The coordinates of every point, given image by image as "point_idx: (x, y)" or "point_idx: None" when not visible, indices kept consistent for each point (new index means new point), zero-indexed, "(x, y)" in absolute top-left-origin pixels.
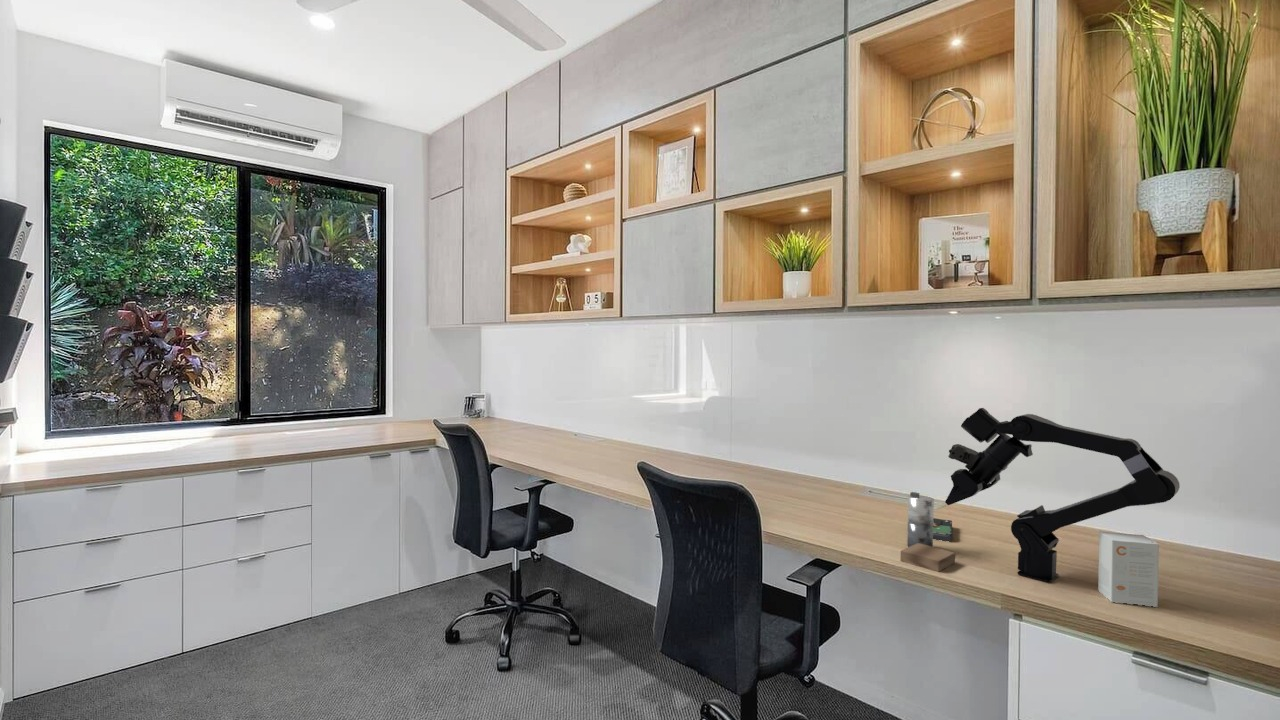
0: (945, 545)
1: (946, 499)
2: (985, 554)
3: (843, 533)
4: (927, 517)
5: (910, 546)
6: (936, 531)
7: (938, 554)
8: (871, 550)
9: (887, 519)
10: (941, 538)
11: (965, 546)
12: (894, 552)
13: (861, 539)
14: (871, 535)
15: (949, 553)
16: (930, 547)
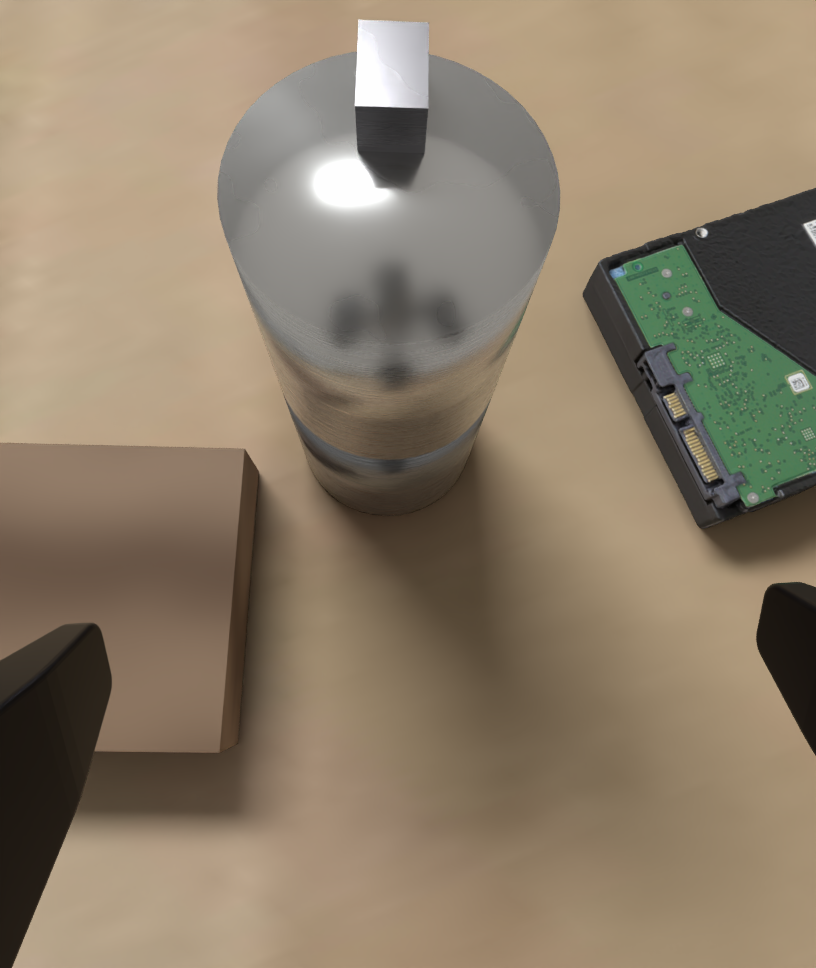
0: (588, 532)
1: (14, 654)
2: (633, 826)
3: (281, 18)
4: (311, 407)
5: (116, 447)
6: (704, 409)
7: None
8: (79, 257)
9: (802, 57)
10: (676, 465)
11: (692, 641)
12: (150, 366)
13: None
14: None
15: (164, 727)
16: (208, 558)
